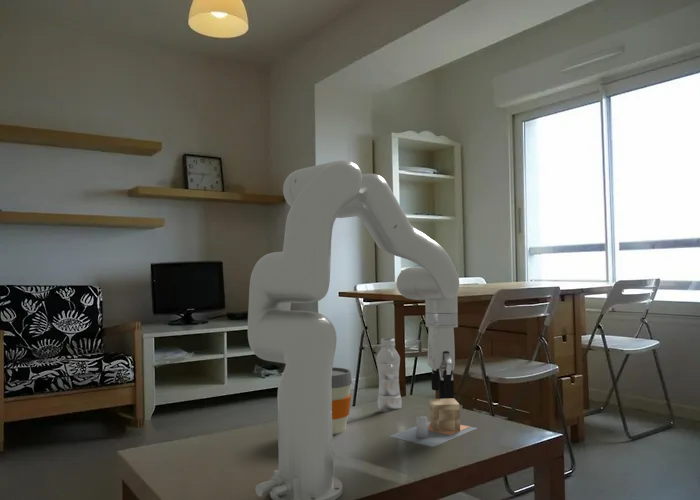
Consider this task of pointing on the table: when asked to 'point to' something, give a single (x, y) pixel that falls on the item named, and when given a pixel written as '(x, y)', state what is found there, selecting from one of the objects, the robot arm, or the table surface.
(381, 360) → the plastic bottle
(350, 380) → the reusable coffee cup
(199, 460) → the table surface
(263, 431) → the table surface
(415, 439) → the post plate
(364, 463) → the table surface
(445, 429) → the wooden block
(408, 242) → the robot arm
